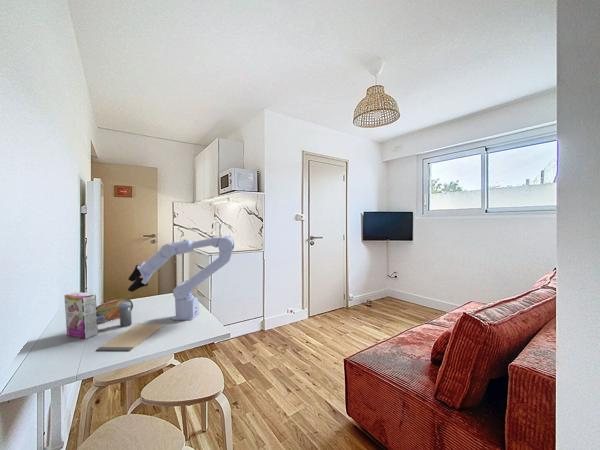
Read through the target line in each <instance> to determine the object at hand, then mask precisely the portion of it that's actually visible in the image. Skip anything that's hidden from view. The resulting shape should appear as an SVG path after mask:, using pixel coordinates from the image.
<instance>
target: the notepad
mask: <svg viewBox="0 0 600 450" xmlns="http://www.w3.org/2000/svg"><path fill="white" fill-rule="evenodd" d="M164 326H166V323H136V324H135V325H134V326H132V327H130V328H129V329H127V330H126V331H124V332H122V333H121V334H119V335H118V336H115V337H114V338H113V339H112V340H111V339H110V341H108V342H106V343H105V344H103V345H102V346H99V347H98V348H97V349H96V352H131V351H132V350H134V349H135V348H136V347H138V346H139V345H140V344H141V343H142V342H144V341H145V340H147V339H148V338H150V337H151V336H152V335H153V334H154V333H156V332H158V331H159V330H160V329H162V328H163V327H164Z"/></svg>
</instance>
